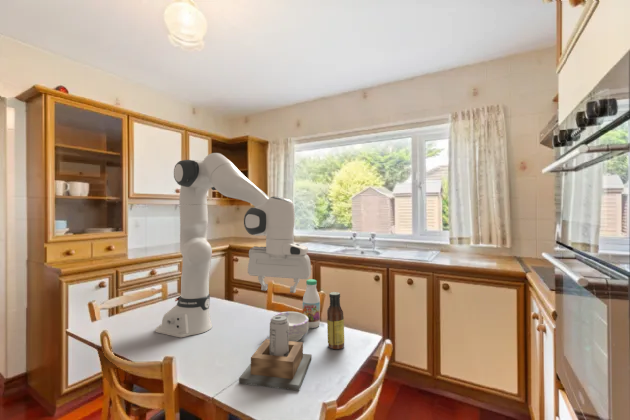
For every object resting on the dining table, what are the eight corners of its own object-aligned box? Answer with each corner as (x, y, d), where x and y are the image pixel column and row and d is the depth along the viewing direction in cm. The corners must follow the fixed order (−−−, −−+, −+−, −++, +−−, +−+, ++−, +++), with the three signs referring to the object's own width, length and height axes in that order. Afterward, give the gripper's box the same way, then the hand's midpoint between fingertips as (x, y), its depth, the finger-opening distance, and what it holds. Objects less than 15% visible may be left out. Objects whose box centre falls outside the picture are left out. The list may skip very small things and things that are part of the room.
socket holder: (239, 383, 84) (239, 360, 84) (261, 353, 102) (261, 335, 102) (299, 390, 81) (299, 367, 81) (311, 358, 98) (311, 339, 98)
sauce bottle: (346, 344, 110) (346, 291, 110) (342, 351, 104) (342, 296, 104) (329, 341, 112) (329, 290, 112) (324, 348, 106) (325, 294, 106)
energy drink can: (289, 369, 89) (289, 320, 89) (269, 370, 88) (269, 321, 88) (287, 359, 95) (288, 313, 95) (269, 360, 94) (269, 314, 94)
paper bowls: (303, 348, 106) (303, 326, 106) (264, 344, 109) (264, 323, 109) (312, 331, 121) (312, 312, 121) (277, 328, 124) (277, 309, 124)
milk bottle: (302, 322, 131) (302, 278, 132) (318, 321, 132) (319, 278, 132) (302, 329, 124) (303, 282, 124) (320, 328, 124) (321, 282, 125)
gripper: (245, 246, 90) (243, 291, 90) (308, 250, 87) (307, 296, 86) (253, 245, 97) (251, 286, 96) (312, 248, 93) (311, 291, 92)
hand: (278, 291), depth 91 cm, fingers open, 8 cm apart
